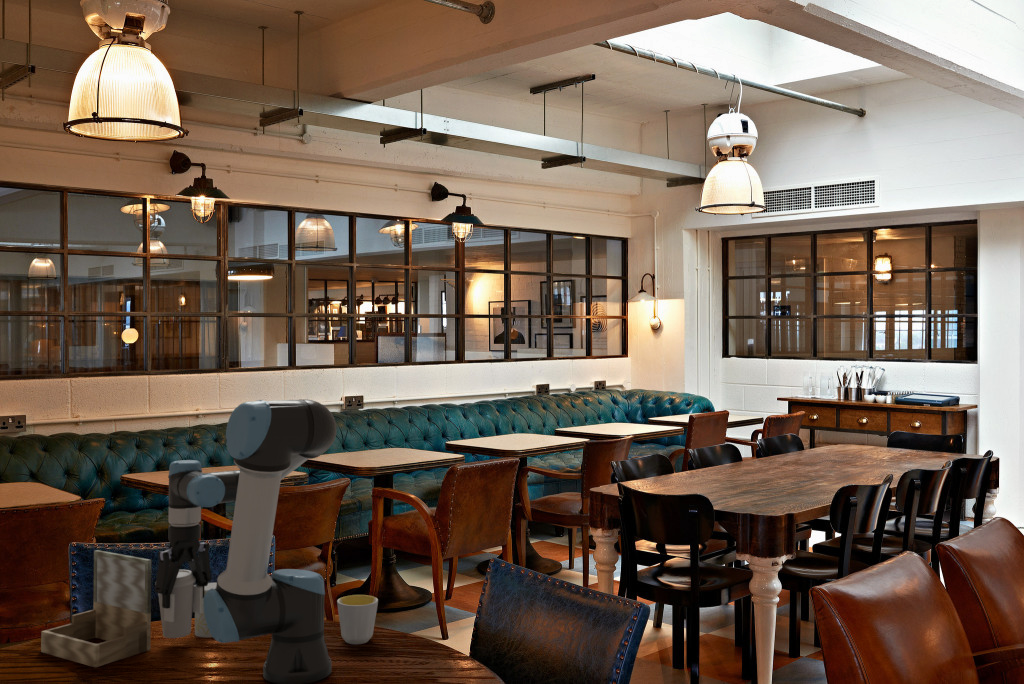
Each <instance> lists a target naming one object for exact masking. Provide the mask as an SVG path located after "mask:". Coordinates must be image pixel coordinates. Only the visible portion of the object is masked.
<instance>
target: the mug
mask: <svg viewBox="0 0 1024 684" xmlns="http://www.w3.org/2000/svg"><path fill="white" fill-rule="evenodd" d="M336 604H337V612H338V619H339V627H340V634H341V637H342V639H343V640H344V641H345V643H347V644H348V645H349V644H350V645H362V644H363V645H364V644H366V643H368V642H369V640H370V639H371V638H372V637H374V635H373V634H374V628H375V623H376V616H377V611H378V604H379V599H378V598H377V597H375V596H373V595H366V594H352V595H351V594H350V595H347V596H343V597H340V598H338V599H337V600H336Z"/></svg>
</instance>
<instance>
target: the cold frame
mask: <svg viewBox="0 0 1024 684" xmlns="http://www.w3.org/2000/svg"><path fill="white" fill-rule="evenodd" d="M92 603H93V605H92V606H93V609H90V610H87V611H83V612H79V613H75V614H71V623H67V624H63V625H60V626H57V627H53V628H49V629H45V630H42V631H40V633H41V635H40V637H41V639H40V640H41V641H40V643H41V645H40V650H41V651H40V652H41V653H43V654H47V655H51V656H53V657H57V658H61V659H64V660H68V661H72V662H75V663H79V664H83V665H86V666H88V667H93V668H98V667H101V666H104V665H107V664H111V663H113V662H114V663H115V662H117V661H120V660H123V659H126V658H129V657H133V656H135V655H139V654H142V653H144V652H148V651H151V639H152V635H151V634H152V631H151V629H152V628H151V626H152V625H151V623H152V622H151V620H152V559H148V558H143V557H137V556H133V555H128V554H127V555H126V554H122V553H115V552H110V551H104V550H100V549H97V550H94V551H93V602H92ZM99 638H100V640H103V641H102V642H99V643H94V642H92V641H91V642H90V641H89V640H93V639H99ZM141 652H142V653H141Z"/></svg>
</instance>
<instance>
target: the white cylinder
mask: <svg viewBox="0 0 1024 684" xmlns="http://www.w3.org/2000/svg"><path fill="white" fill-rule="evenodd" d="M216 586H217V582H208V585H207V586H205V587H204V595H205V593H206V592H207V591H208V590H210V589H211V588H212V589H216ZM203 600H204V598H203ZM203 600H202V613H200V614H199V613H195V612H194V636H196V637H198V638H213V636H212V635H211V633H210V631H209V629H208V626H207V623H206V620H205V615H204V608H203Z"/></svg>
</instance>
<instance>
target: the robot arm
mask: <svg viewBox="0 0 1024 684" xmlns="http://www.w3.org/2000/svg"><path fill="white" fill-rule="evenodd" d="M336 423H337V422H336V419H335V417H334V415H333V413H332V412H331V411H330V410H329V408H328V407H326V406H325V405H324V404H322V403H320V402H318V401H316V400H314V399H313V400H312V399H308V398H307V399H306V398H305V399H302V398H301V399H282V400H281V399H277V400H275V399H274V400H264V399H257V400H254V401H246V402H242V403H239V405H237V407H235V408H234V409H233V411H232V413H231V414H230V416H229V418H228V421H227V424H226V431H225V439H226V443H225V445H226V449H227V452H228V454H229V455H230V457H232V458H233V463H234V464H235V465H236V467H237V468H238V470H227V471H225V470H224V471H214V472H213V471H212V472H203V469H202V463H201V461H199V460H196V459H195V460H193V459H186V460H185V459H183V460H182V459H181V460H174V461H172V462H171V463H170V464H169V469H168V477H167V478H168V523H169V524H170V525H168V531H167V532H168V535H167V538H168V541H169V546H168V549H166V550H164V551H162V550H159V551H158V553H157V557H158V567H157V573H156V581H155V583H156V585H154V592H155V593H156V594H158V593H160V594H162V607H163V608H164V620H165V621H169V622H174V597H175V594H171V593H172V590H173V587H174V584H175V581H176V578H177V575H178V572H179V570H181V568H182V566H183V564H185V563H186V562H187V563H188V567H189V570H190V571H191V572H192V573H193V576H195V578H196V582H194V591H193V606H192V613H194V614H195V613H199V614H200V613H202V600H203V598H204V600H203V608H204V615H205V620H206V623H207V626H208V629H209V631H210V633H211V635H212V636H213V637H212V638H213V639H214V640H215V641H216V642H218V643H221V644H226V643H227V644H228V643H232V642H235V643H238V642H240V641H243V640H247V639H253V638H258V637H261V636H262V637H263V636H267V635H271V642H270V645H269V647H268V651H267V654H266V660H265V661H264V663H263V667H262V670H263V675H262V676H263V678H264V679H265V680H266V681H267V682H269V683H273V684H311V683H314V682H318V681H321V680H323V679H325V678H327V677H329V676H330V675H331V674H332V659H331V657H330V656H329V652H328V646H327V643H326V641H325V595H326V592H325V580H324V578H323V576H322V575H321V574H320V573H318V572H315V571H312V570H306V569H295V568H282V569H280V568H279V569H277V570H274V571H273V572H272V573H271V575H269V573H268V567H269V563H270V562H269V560H270V554H271V549H272V548H271V547H272V540H273V534H274V527H275V521H276V516H277V515H276V514H277V507H278V501H279V500H278V499H279V494H280V489H281V488H280V487H281V481H282V480H283V479H285V478H286V477H287V476H289V475H290V474H291V473H293V472H294V471H295V470H296V469H298V468H299V467H300V466H301V465H303V464H304V463H305V462H306V461H308V460H311V459H317V458H318V457H320V456H321V455H323V454H324V453H325V452H327V451H328V450H329V449H330V447H332V445H333V444H334V441H335V440H336V437H337V424H336ZM233 502H235V503H234V509H233V510H234V512H233V518H232V525H231V531H230V532H231V533H230V538H229V539H230V540H229V544H228V545H229V548H228V553H227V554H228V555H227V560H226V568H225V570H223V571H222V572H221V573H220V574H219V575H218V576H217V579H216V583H217V586H216V589H212V588H211V589H210V590H208V591H207V592H206V593H205V595H204V587H205V586H207V585H208V583H211V582H212V580H213V579H212V571H211V570H212V569H211V563H210V562H211V561H210V555H209V554H210V553H209V551H210V543H208V542H202V541H201V542H200V539H201V532H202V531H201V527H202V526H201V523H200V522H201V521H202V508H212V507H215V506H216V505H218V504H224V503H225V504H226V503H233Z"/></svg>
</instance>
